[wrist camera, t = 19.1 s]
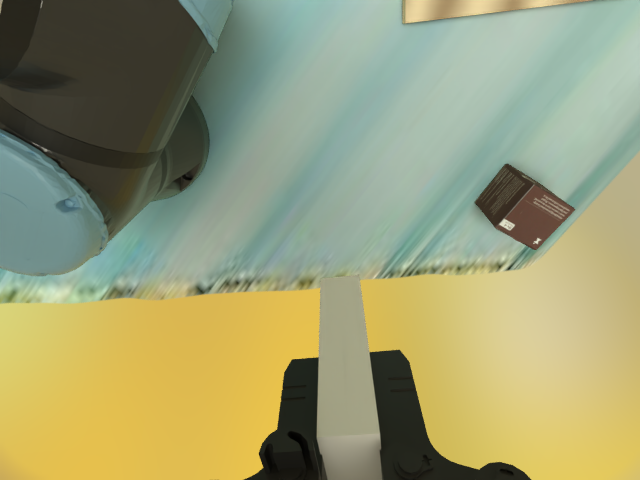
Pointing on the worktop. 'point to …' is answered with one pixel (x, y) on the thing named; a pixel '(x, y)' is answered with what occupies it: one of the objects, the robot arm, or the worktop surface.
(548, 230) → the box
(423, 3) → the mount
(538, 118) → the worktop surface
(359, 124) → the worktop surface
